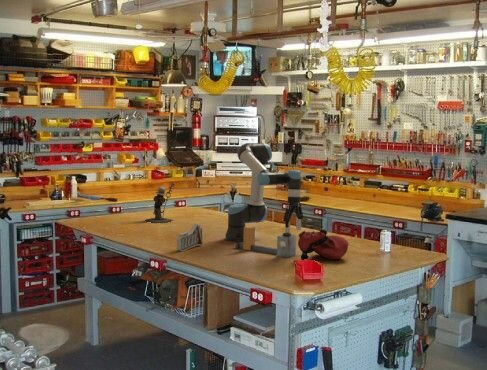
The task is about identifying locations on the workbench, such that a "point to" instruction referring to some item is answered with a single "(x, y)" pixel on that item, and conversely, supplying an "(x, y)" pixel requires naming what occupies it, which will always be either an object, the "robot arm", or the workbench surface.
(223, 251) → the workbench surface
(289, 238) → the cabinet
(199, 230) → the decorative sign
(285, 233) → the button
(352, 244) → the workbench surface
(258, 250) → the guide rail
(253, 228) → the carriage
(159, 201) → the figurine
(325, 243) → the red backpack
